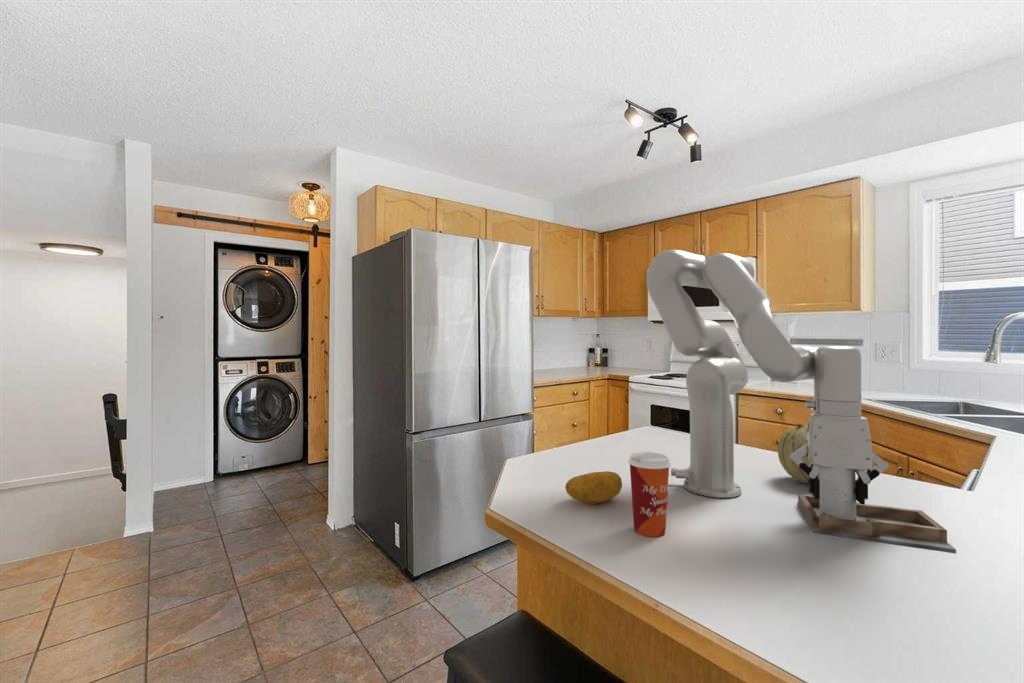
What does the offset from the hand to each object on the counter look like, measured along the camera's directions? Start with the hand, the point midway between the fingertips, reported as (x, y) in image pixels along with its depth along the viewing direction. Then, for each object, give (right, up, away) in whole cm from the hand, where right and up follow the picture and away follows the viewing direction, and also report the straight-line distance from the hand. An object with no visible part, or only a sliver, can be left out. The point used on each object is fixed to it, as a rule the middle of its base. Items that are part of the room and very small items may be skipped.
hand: (837, 498), depth 87 cm
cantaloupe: (+11, -5, +24) cm, 26 cm away
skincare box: (0, -4, 0) cm, 4 cm away
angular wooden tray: (+4, -4, -2) cm, 6 cm away
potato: (-46, -5, +11) cm, 47 cm away
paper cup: (-38, -5, -4) cm, 39 cm away
